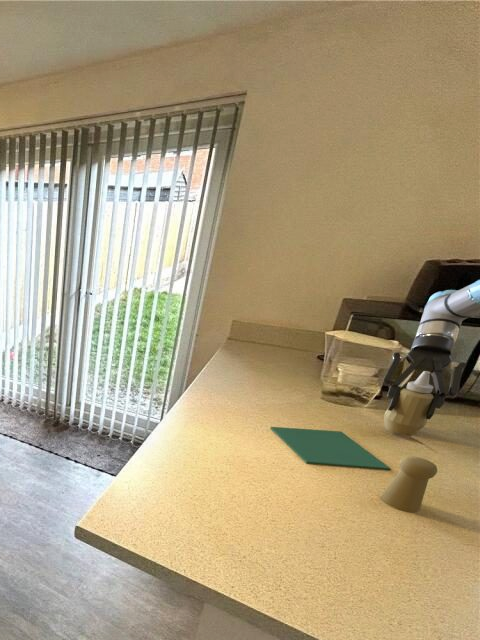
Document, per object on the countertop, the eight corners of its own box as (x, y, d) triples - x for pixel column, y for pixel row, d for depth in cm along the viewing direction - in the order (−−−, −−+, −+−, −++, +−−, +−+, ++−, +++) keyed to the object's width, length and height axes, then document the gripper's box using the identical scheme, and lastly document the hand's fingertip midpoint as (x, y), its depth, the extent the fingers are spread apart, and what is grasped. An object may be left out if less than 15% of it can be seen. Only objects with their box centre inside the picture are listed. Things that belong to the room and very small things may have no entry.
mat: (390, 470, 96) (391, 468, 95) (306, 463, 99) (307, 461, 98) (340, 433, 112) (341, 431, 111) (270, 428, 115) (270, 426, 115)
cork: (372, 494, 88) (392, 453, 83) (397, 492, 88) (418, 451, 84) (401, 513, 82) (424, 470, 78) (428, 511, 82) (452, 468, 78)
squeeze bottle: (414, 428, 111) (443, 369, 104) (424, 441, 105) (455, 379, 98) (375, 421, 115) (401, 364, 108) (382, 433, 109) (409, 373, 102)
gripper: (482, 355, 105) (459, 430, 101) (382, 341, 118) (357, 407, 114) (495, 341, 100) (471, 419, 96) (388, 328, 113) (363, 396, 109)
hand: (409, 412), depth 105 cm, fingers closed on squeeze bottle, 6 cm apart
